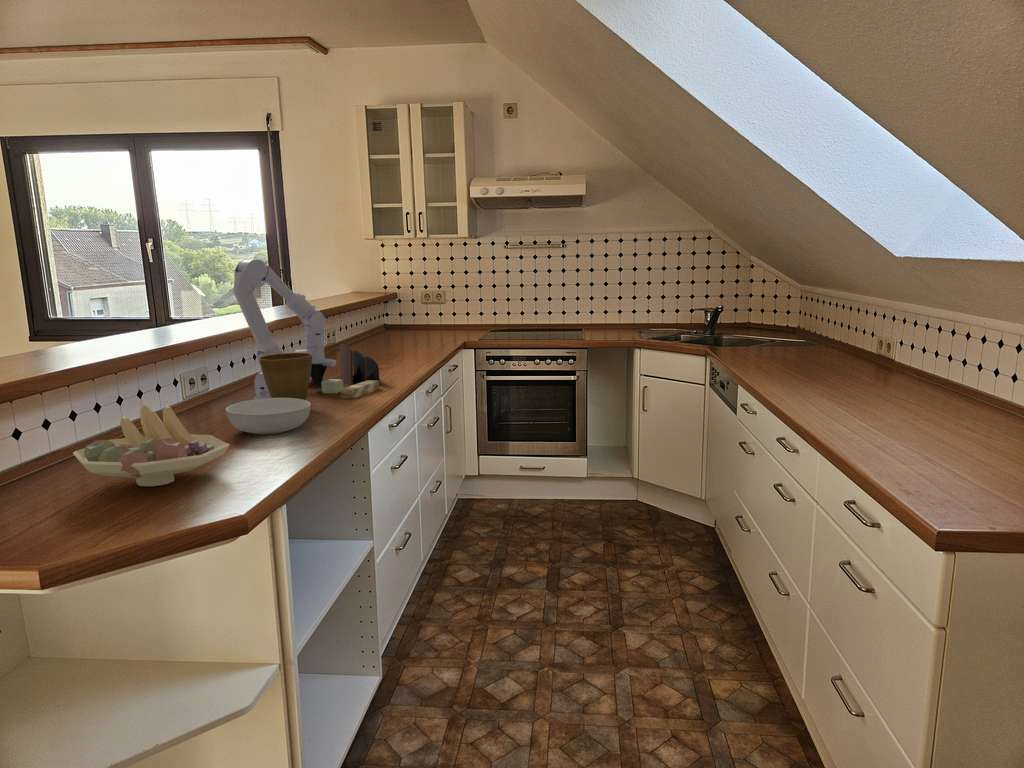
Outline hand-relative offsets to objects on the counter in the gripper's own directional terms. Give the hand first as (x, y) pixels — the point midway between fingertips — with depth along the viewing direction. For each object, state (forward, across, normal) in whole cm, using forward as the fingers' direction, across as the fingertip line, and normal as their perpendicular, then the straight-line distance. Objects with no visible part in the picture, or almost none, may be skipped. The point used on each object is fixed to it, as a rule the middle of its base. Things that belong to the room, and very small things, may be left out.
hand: (317, 386), depth 236 cm
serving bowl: (+2, -21, +49) cm, 53 cm away
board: (+1, -17, 0) cm, 17 cm away
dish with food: (+2, -26, +91) cm, 95 cm away
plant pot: (+2, -9, +26) cm, 28 cm away
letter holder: (+2, -5, -17) cm, 18 cm away
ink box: (+2, +12, -12) cm, 17 cm away
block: (+2, -6, 0) cm, 6 cm away
